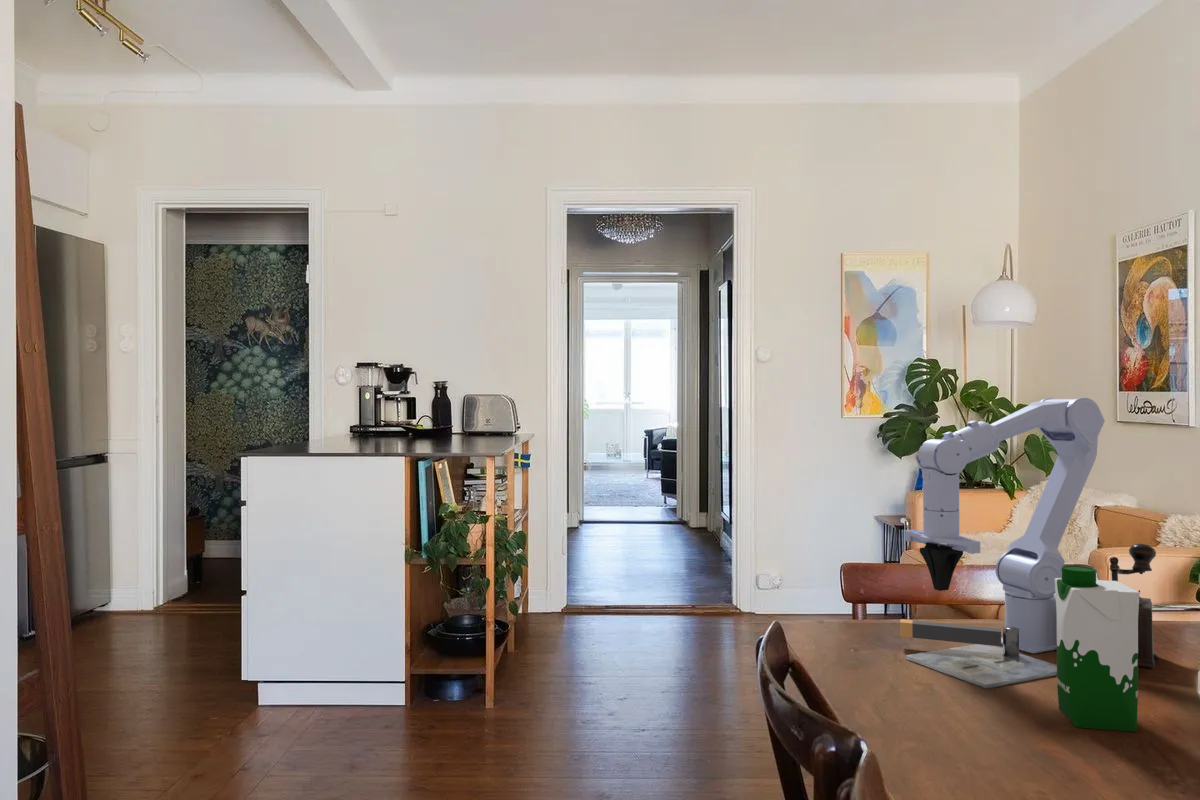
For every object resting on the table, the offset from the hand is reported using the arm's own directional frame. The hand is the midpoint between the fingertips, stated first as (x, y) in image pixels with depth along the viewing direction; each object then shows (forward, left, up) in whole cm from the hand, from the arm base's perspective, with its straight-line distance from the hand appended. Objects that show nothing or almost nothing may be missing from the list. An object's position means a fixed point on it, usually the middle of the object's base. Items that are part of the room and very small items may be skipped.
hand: (941, 589), depth 143 cm
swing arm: (-1, +1, -8) cm, 8 cm away
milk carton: (+6, +32, -11) cm, 34 cm away
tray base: (0, +9, -10) cm, 14 cm away
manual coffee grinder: (-26, +13, -11) cm, 31 cm away
